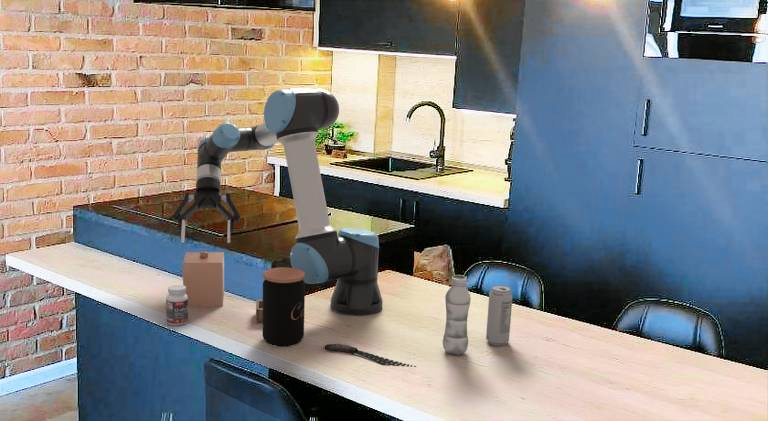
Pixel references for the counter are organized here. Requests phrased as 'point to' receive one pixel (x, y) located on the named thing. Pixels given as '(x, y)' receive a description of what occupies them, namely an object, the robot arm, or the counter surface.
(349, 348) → the knife
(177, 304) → the pill bottle
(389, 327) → the counter surface
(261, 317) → the walnut open box
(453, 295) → the plastic bottle
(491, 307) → the energy drink can
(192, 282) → the cube with knob
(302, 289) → the coffee jar
